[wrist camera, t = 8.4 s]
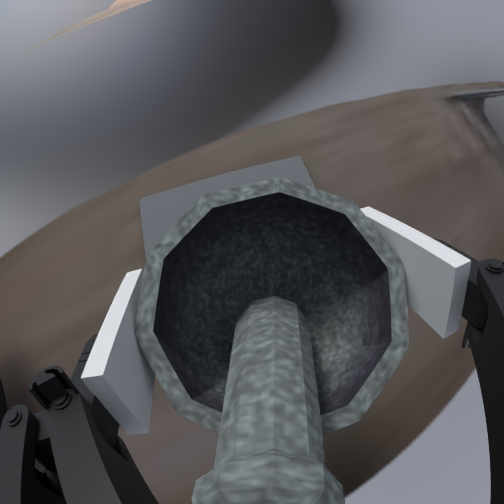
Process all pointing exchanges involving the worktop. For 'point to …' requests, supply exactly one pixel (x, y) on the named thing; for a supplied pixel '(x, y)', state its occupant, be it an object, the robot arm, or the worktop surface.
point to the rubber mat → (184, 197)
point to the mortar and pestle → (272, 332)
